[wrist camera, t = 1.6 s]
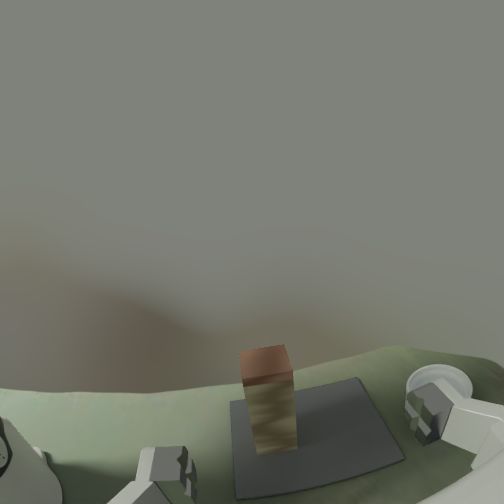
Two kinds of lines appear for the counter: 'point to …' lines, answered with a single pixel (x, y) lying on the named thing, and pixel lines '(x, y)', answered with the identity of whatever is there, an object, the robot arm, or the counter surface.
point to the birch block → (270, 398)
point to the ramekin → (440, 371)
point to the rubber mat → (314, 443)
